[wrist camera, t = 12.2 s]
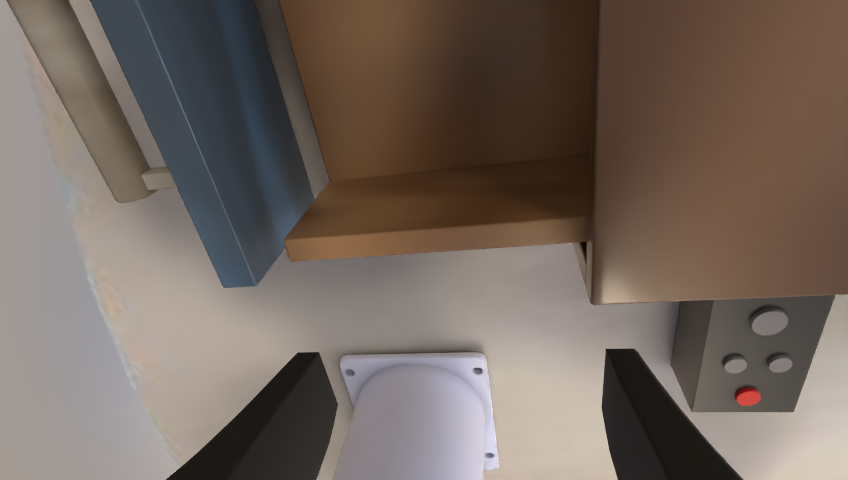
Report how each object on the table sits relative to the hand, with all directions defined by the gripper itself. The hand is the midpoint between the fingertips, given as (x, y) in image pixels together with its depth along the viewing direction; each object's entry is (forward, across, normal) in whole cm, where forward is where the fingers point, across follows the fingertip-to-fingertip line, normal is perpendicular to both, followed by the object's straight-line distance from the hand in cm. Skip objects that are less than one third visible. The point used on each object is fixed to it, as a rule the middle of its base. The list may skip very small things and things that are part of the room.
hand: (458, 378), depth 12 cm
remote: (+9, -11, +5) cm, 15 cm away
